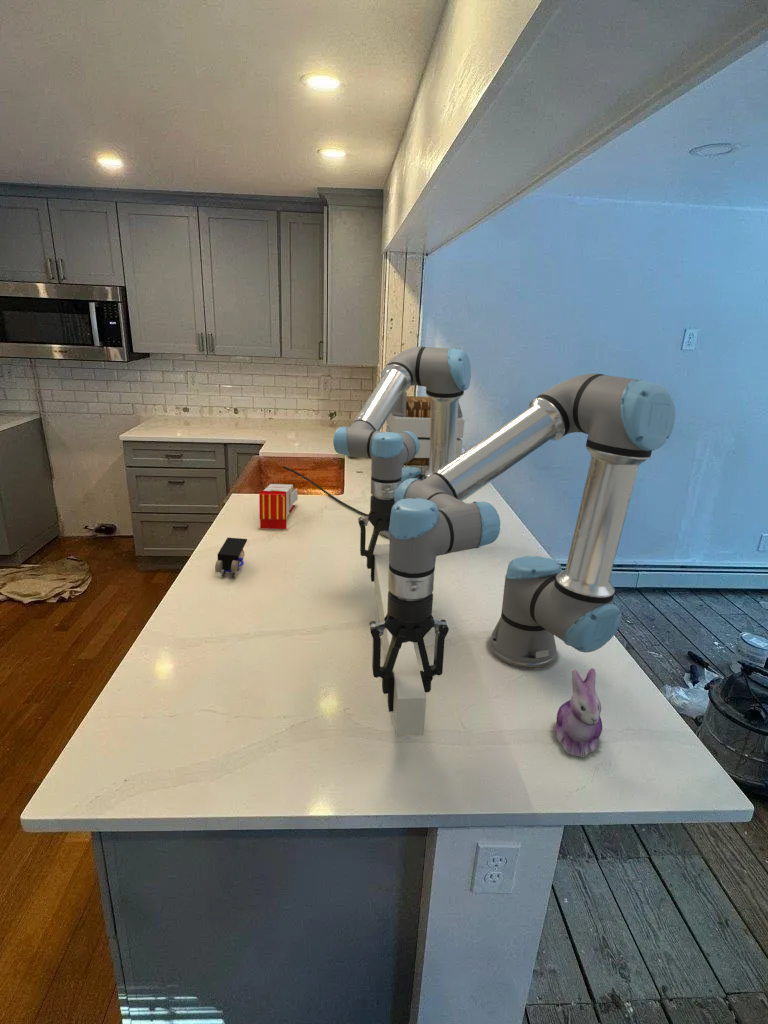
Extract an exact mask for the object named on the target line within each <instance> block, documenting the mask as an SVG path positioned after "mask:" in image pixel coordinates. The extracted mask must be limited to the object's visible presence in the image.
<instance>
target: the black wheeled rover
mask: <svg viewBox="0 0 768 1024" xmlns="http://www.w3.org/2000/svg"><path fill="white" fill-rule="evenodd" d="M247 542H248V538H240V537H226V539H225V541H224V543H223V544H222V546H221V547H220V549H219V551H218V552H217V560H216V562H215V564H214V572H215V573H221V577H222V578H224V577H225V576H226V574H227V573H230V574H231V573H232V574H231V578H234V577H235V575H236V573H237V572H239V571H240V567H242V566H243V565H244V564H245V562H244V558H245V551H244V547H245V546H246V544H247Z"/></svg>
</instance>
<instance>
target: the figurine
mask: <svg viewBox="0 0 768 1024" xmlns="http://www.w3.org/2000/svg"><path fill="white" fill-rule="evenodd" d="M596 672H597V671H596V669H595V668H593V667H591V668H590V669H588V671H587V673H586V677H585V678H584V679H583V678H582V677H581V674H580V673H579V672H578V671H577V670H576V669H572V670H571V677H572V678H571V680H572V681H571V682H572V695H571V697H570V699H569V700H567V701H565V702H563V703H562V704H561V705H560V706H559V707H558V710H557V713H556V719H555V720H556V721H555V725H554V730H555V736H556V740H557V741H558V742H559V744H560V745H561V746H562V748H563V750H564V752H565V753H566V754H568V755H571V756H572V755H573V756H576V757H582V758H583V757H586V756H588V754H589V753H593V752H595V751H596V749H597V745H598V743H599V738H600V736H601V734H602V732H603V721H602V717H601V712H602V703H601V699H600V697H599V695H598V693H597V691H596V690H597V689H596V678H597V673H596Z"/></svg>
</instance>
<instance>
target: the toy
mask: <svg viewBox="0 0 768 1024" xmlns="http://www.w3.org/2000/svg"><path fill="white" fill-rule="evenodd" d="M258 495H259V497H258V500H259V501H258V503H259V529H260V530H287V517H288V516H289V514H290V513H292V512H293V510H294V509H295V507H296V504H295V503H296V502H297V501H299V500H298V498H299V496H298V488H295V489H294V484H290V483H289V484H288V483H287V484H284V483H269V485H268V486H266V487H265V489H263V490H259V494H258Z"/></svg>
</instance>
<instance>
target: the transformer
mask: <svg viewBox="0 0 768 1024" xmlns="http://www.w3.org/2000/svg"><path fill="white" fill-rule="evenodd" d="M407 394H408V393H407V391H405V392H403V393H402V395H401V396H400V398H399V400H398V401H397V403H396V405H395V406H394V408H393V410H392V411H391V413H390V415H389V416H388V418H387V420H386V421H385V423H386V428H385V432H393V433H399V432H404V431H409V432H412V433H413V434H415V435H416V437H417V438H418V440H419V443H420V448H419V451H418V453H417V454H416V455H415V457H414V458H413V459H412V460H411V461H408V462H407V463H405V464H404V465H402V468H403V467H405V466H406V467H417V466H418V467H429V458H430V414H431V399H430V397H429V396H415V395H414V396H413V395H412V396H411V395H407ZM464 429H465V419H464V418H463V411H462V408H461V405H460V401H458V421H457V442H456V458H457V457H458V456H460V455H461V454H463V442H464V441H463V440H462V439H463V438H464V431H465V430H464Z"/></svg>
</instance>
